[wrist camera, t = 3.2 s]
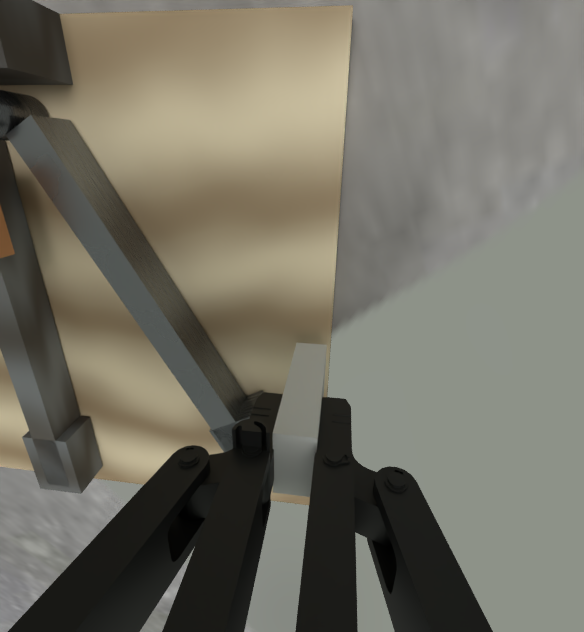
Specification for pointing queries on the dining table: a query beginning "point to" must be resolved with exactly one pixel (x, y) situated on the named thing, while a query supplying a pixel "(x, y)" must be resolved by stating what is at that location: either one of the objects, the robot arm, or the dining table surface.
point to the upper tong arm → (124, 259)
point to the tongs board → (168, 221)
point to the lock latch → (5, 238)
